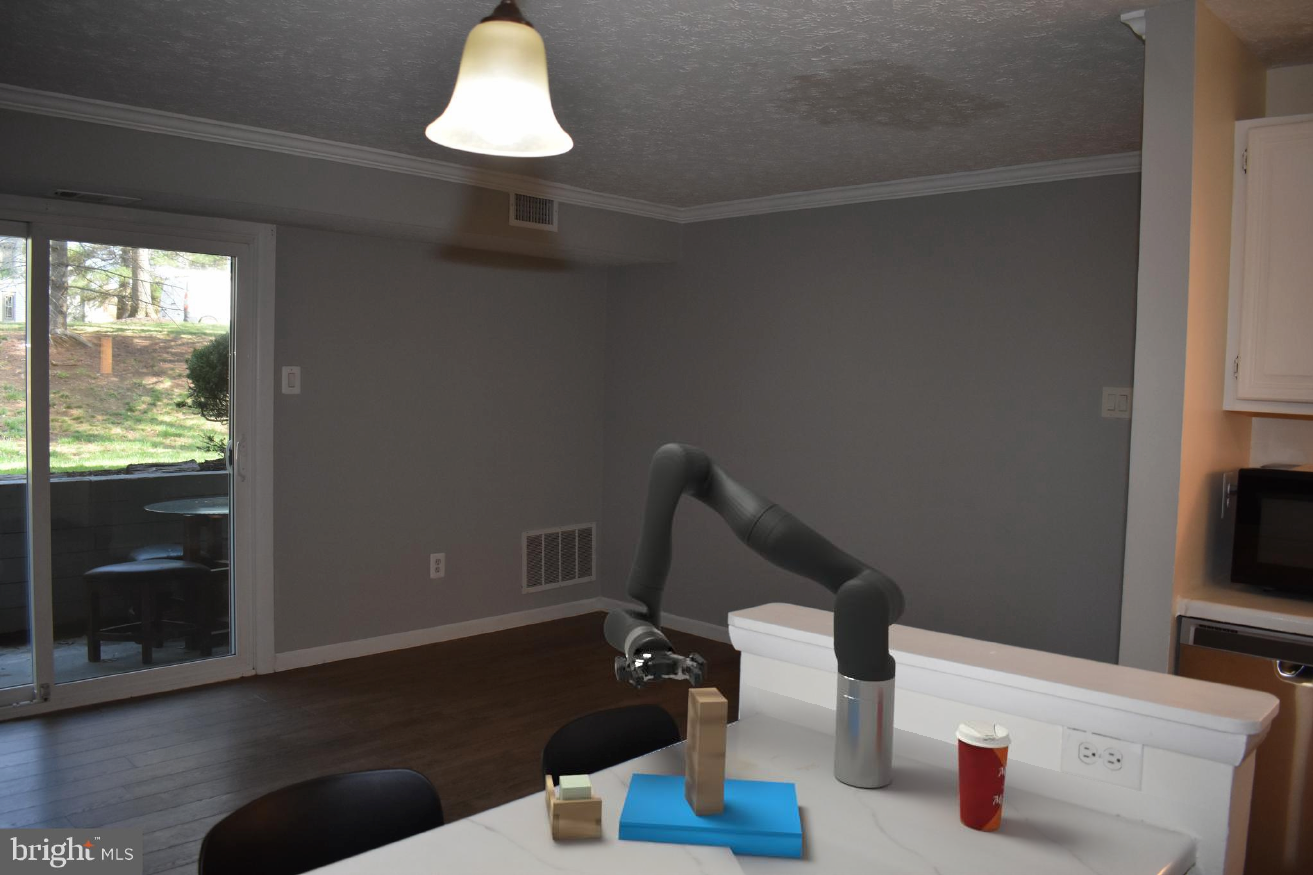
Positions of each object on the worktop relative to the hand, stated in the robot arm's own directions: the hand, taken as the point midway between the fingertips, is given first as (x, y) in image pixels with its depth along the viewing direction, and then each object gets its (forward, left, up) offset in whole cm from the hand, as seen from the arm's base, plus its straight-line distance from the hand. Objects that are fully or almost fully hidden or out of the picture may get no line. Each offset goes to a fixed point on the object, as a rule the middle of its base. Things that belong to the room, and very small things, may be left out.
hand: (669, 680), depth 140 cm
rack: (+13, -10, -18) cm, 24 cm away
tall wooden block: (+7, +8, -15) cm, 18 cm away
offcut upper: (+16, -8, -14) cm, 23 cm away
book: (+6, +9, -19) cm, 22 cm away
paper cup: (-10, +45, -18) cm, 50 cm away
